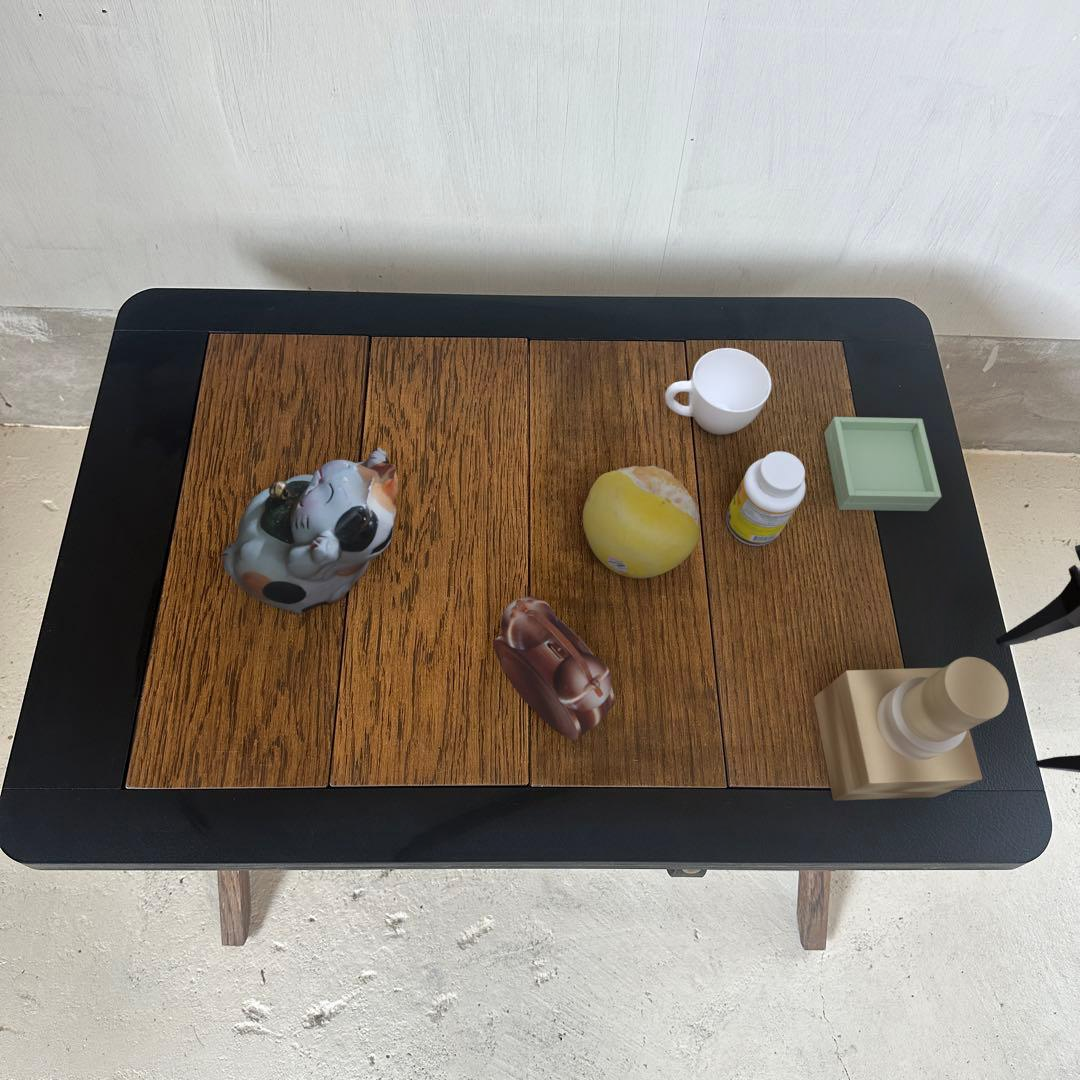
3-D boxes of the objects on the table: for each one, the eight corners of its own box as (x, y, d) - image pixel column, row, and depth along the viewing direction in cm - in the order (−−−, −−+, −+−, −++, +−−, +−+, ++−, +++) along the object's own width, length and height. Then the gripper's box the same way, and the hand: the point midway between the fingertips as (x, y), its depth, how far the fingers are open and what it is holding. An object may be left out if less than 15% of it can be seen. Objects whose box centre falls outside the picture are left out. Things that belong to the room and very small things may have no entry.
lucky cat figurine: (285, 467, 84) (334, 383, 74) (386, 538, 86) (446, 466, 76) (194, 572, 74) (236, 491, 64) (311, 649, 76) (369, 583, 66)
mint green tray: (909, 434, 89) (922, 418, 87) (928, 511, 85) (942, 496, 83) (823, 432, 89) (833, 416, 86) (838, 510, 85) (849, 495, 82)
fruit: (680, 604, 80) (703, 559, 71) (568, 579, 80) (577, 531, 71) (695, 511, 84) (719, 458, 75) (589, 488, 85) (600, 432, 76)
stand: (910, 694, 77) (953, 667, 70) (935, 797, 73) (983, 779, 66) (813, 697, 76) (846, 670, 69) (832, 800, 72) (869, 783, 65)
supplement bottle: (747, 488, 86) (777, 432, 76) (791, 523, 84) (827, 470, 75) (712, 522, 84) (739, 469, 74) (757, 559, 82) (789, 509, 73)
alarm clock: (609, 722, 74) (635, 670, 61) (569, 759, 73) (586, 713, 59) (527, 633, 78) (534, 564, 64) (487, 666, 76) (485, 603, 63)
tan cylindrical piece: (955, 704, 68) (1024, 665, 59) (942, 772, 66) (1012, 742, 57) (884, 676, 69) (943, 634, 60) (869, 742, 66) (927, 708, 57)
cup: (757, 449, 88) (777, 412, 82) (662, 449, 87) (674, 411, 81) (747, 388, 91) (765, 347, 85) (655, 388, 91) (666, 347, 84)
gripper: (1200, 476, 53) (944, 559, 62) (1348, 784, 44) (1027, 827, 53) (1221, 529, 60) (991, 595, 69) (1350, 799, 52) (1069, 835, 61)
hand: (1016, 701), depth 63 cm, fingers open, 9 cm apart
